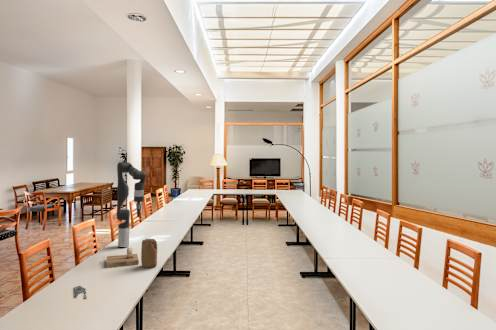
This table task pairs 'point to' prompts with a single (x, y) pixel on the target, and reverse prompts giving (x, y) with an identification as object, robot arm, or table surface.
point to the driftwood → (79, 291)
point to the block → (149, 253)
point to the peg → (129, 253)
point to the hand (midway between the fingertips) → (138, 216)
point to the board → (121, 260)
